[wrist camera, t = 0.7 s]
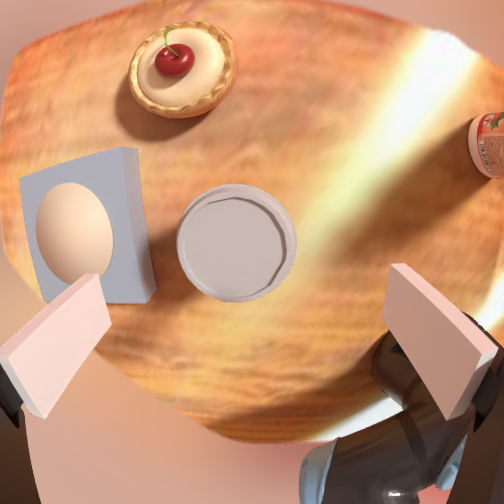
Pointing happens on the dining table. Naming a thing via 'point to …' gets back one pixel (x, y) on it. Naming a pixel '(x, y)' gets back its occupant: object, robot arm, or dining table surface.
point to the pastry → (183, 69)
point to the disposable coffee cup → (236, 243)
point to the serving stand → (90, 226)
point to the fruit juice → (488, 144)
